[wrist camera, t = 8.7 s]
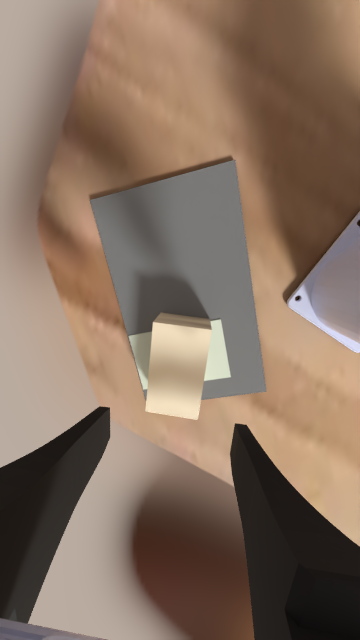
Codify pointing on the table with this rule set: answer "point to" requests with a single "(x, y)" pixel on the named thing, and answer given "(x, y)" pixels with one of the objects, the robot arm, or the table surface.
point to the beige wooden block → (177, 364)
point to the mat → (186, 270)
